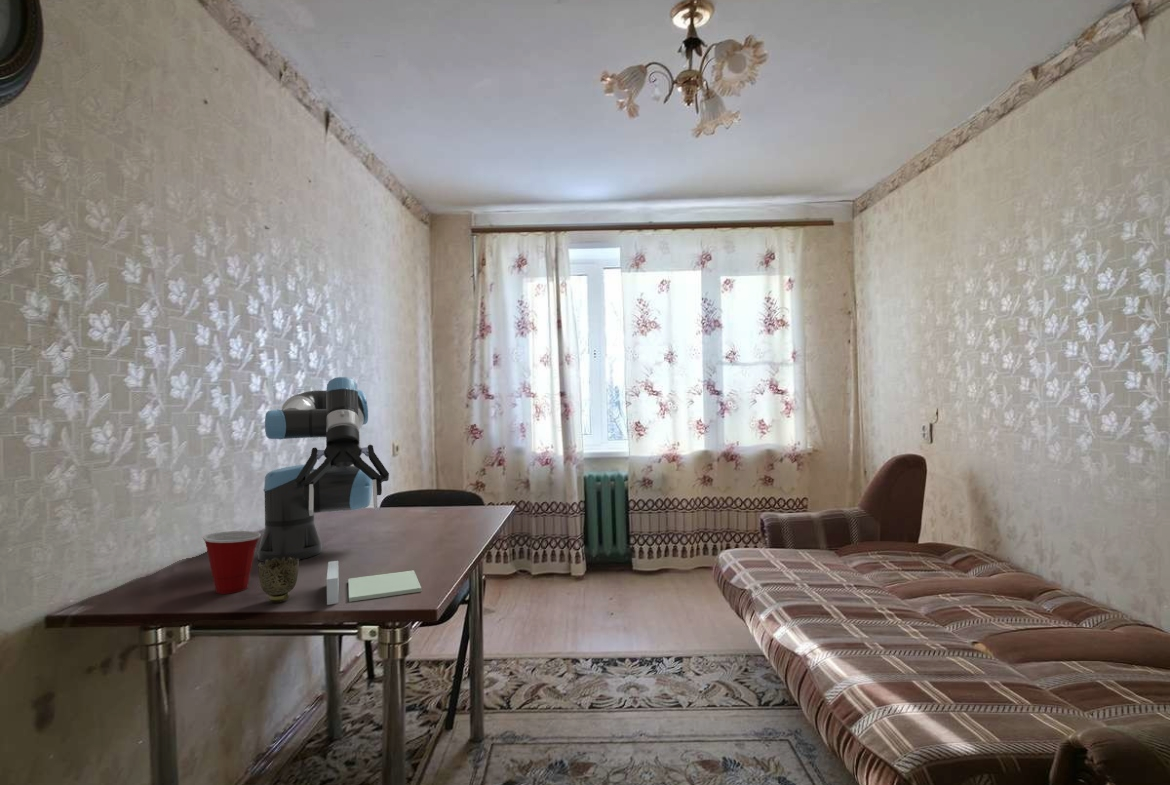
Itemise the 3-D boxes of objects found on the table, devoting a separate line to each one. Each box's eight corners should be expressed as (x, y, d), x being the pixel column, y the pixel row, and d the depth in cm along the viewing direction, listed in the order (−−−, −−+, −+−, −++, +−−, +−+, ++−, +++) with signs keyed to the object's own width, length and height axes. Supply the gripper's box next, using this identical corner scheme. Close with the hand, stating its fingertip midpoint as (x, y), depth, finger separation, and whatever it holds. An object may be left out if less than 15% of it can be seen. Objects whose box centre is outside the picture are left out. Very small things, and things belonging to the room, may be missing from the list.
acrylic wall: (328, 584, 128) (328, 561, 128) (338, 583, 129) (338, 560, 129) (327, 604, 115) (326, 579, 115) (338, 603, 116) (337, 577, 116)
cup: (282, 608, 114) (281, 567, 114) (249, 606, 115) (248, 565, 115) (307, 595, 121) (307, 556, 121) (276, 594, 122) (276, 555, 122)
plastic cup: (262, 591, 124) (261, 535, 124) (201, 601, 119) (200, 542, 119) (261, 578, 133) (261, 526, 134) (205, 587, 128) (204, 532, 128)
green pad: (348, 582, 129) (348, 578, 129) (414, 573, 135) (413, 570, 135) (349, 601, 116) (348, 597, 116) (421, 591, 122) (421, 587, 122)
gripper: (284, 425, 137) (280, 507, 126) (396, 421, 147) (401, 497, 135) (288, 443, 143) (284, 522, 131) (394, 437, 152) (400, 511, 141)
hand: (343, 510), depth 133 cm, fingers open, 13 cm apart
